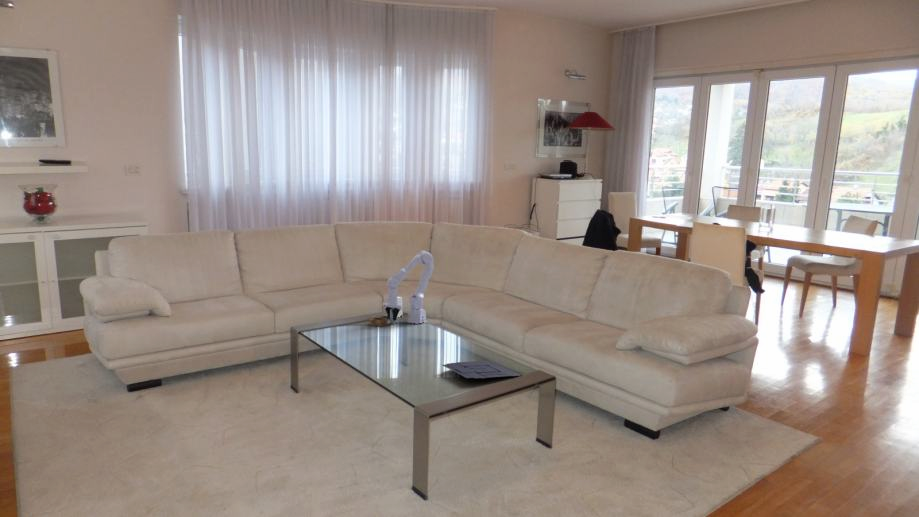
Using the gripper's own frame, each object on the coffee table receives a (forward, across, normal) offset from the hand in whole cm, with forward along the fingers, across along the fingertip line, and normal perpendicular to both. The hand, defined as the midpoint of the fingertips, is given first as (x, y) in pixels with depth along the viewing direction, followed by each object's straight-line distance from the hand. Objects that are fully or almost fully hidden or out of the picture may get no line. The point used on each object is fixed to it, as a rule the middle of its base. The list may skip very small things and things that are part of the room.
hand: (392, 319), depth 353 cm
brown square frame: (+2, -5, -7) cm, 9 cm away
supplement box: (+3, -10, +14) cm, 18 cm away
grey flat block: (+3, +91, -43) cm, 101 cm away
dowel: (+2, 0, 0) cm, 2 cm away
